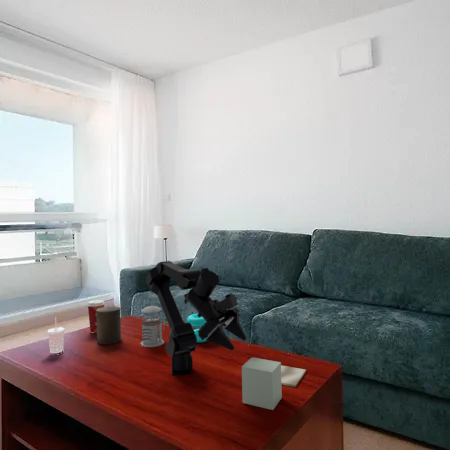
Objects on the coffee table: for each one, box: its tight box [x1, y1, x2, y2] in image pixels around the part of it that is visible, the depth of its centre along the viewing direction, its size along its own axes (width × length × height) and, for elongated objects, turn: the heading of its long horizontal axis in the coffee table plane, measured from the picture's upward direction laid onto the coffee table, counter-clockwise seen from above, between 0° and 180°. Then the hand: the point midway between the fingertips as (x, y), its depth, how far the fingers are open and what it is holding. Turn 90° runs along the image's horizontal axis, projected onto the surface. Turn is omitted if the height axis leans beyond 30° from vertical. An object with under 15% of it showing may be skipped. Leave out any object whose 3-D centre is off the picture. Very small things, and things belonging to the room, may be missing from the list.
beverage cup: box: [47, 316, 66, 353], centre depth 139 cm, size 6×6×14 cm
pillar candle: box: [96, 305, 122, 345], centre depth 152 cm, size 10×10×15 cm
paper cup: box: [86, 299, 106, 333], centre depth 164 cm, size 8×8×14 cm
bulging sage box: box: [241, 357, 283, 411], centre depth 99 cm, size 9×7×10 cm
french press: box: [139, 303, 166, 348], centre depth 147 cm, size 10×12×25 cm
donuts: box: [186, 313, 208, 344], centre depth 151 cm, size 10×10×10 cm
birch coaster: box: [281, 364, 307, 388], centre depth 114 cm, size 12×12×1 cm
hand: (239, 344), depth 104 cm, fingers open, 9 cm apart
